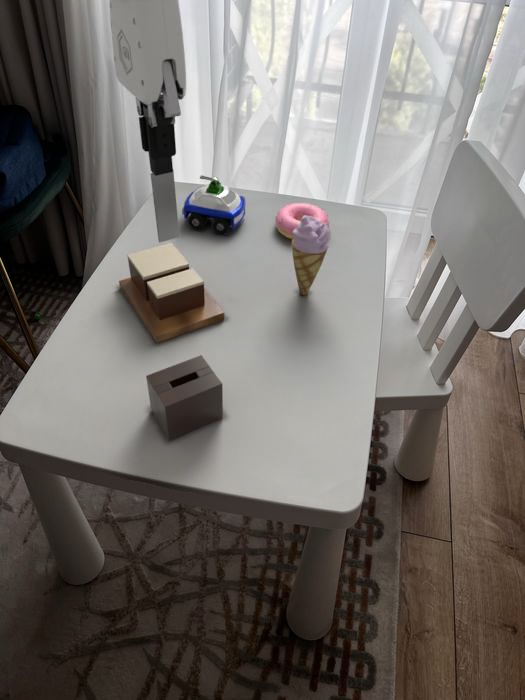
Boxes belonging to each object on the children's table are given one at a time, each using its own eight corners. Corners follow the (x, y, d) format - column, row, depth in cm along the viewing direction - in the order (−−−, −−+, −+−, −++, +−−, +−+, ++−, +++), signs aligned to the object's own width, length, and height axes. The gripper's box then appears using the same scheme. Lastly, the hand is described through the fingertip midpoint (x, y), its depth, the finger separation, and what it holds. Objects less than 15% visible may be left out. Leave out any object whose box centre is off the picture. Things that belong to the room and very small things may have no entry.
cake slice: (159, 320, 85) (157, 295, 81) (150, 306, 87) (146, 281, 84) (204, 305, 88) (204, 281, 85) (194, 292, 90) (192, 268, 87)
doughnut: (318, 250, 104) (321, 231, 101) (266, 236, 107) (267, 218, 104) (334, 223, 111) (337, 205, 109) (285, 211, 114) (286, 193, 111)
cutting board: (156, 343, 83) (155, 336, 82) (119, 287, 93) (118, 280, 92) (224, 319, 88) (224, 312, 87) (182, 268, 98) (182, 262, 97)
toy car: (195, 205, 114) (193, 163, 108) (249, 215, 112) (250, 172, 106) (179, 227, 108) (176, 183, 101) (236, 238, 106) (237, 194, 99)
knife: (161, 245, 73) (145, 110, 60) (156, 239, 74) (140, 105, 61) (181, 239, 74) (169, 105, 61) (176, 233, 75) (164, 101, 62)
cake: (146, 301, 88) (143, 277, 85) (130, 279, 92) (127, 254, 89) (190, 287, 91) (189, 263, 88) (173, 266, 95) (171, 242, 92)
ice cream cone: (284, 280, 97) (291, 205, 86) (318, 279, 97) (329, 205, 87) (288, 303, 92) (297, 227, 81) (324, 303, 92) (336, 227, 82)
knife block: (169, 441, 70) (165, 407, 65) (151, 410, 74) (145, 375, 69) (222, 417, 73) (222, 383, 69) (203, 389, 77) (201, 354, 72)
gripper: (80, -42, 56) (107, 134, 68) (135, -10, 46) (155, 187, 59) (147, -45, 59) (162, 124, 71) (213, -15, 49) (216, 173, 62)
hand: (159, 151), depth 65 cm, fingers closed on knife, 1 cm apart
